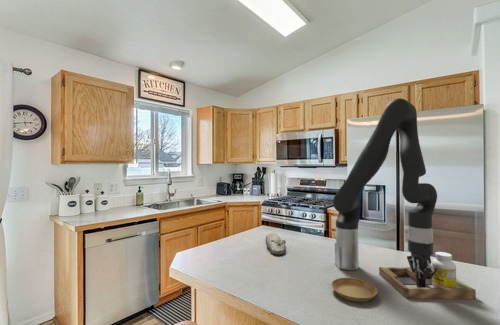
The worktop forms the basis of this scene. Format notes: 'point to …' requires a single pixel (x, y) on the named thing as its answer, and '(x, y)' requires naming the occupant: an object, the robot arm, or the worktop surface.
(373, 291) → the plant saucer
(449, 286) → the supplement bottle
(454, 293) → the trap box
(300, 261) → the worktop surface
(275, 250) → the elongated rock
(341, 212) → the robot arm
